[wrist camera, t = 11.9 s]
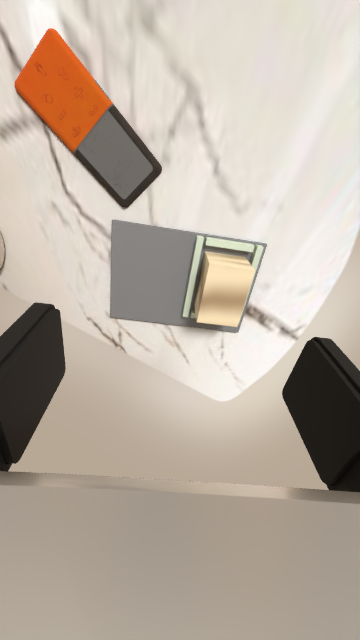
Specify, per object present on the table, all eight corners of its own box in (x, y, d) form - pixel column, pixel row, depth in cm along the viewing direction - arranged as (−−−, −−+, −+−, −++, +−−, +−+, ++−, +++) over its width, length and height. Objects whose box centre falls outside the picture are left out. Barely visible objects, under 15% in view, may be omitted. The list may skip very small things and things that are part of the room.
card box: (205, 251, 34) (209, 263, 30) (245, 257, 34) (255, 270, 30) (194, 304, 38) (196, 322, 34) (230, 308, 38) (237, 327, 34)
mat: (111, 315, 39) (108, 320, 38) (112, 219, 32) (110, 221, 31) (237, 330, 41) (239, 336, 40) (265, 243, 34) (269, 246, 33)
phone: (48, 21, 23) (164, 169, 29) (54, 27, 24) (164, 169, 30) (9, 85, 25) (124, 210, 31) (16, 88, 26) (126, 208, 32)
